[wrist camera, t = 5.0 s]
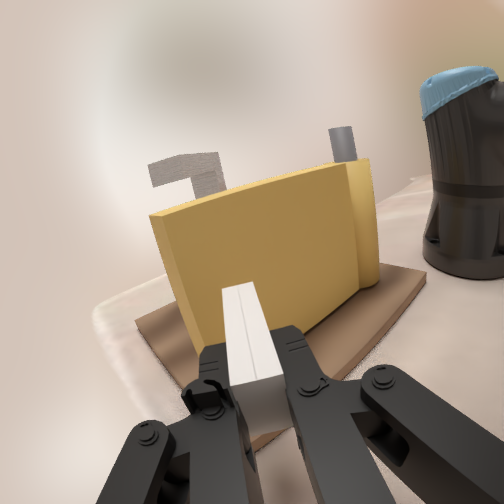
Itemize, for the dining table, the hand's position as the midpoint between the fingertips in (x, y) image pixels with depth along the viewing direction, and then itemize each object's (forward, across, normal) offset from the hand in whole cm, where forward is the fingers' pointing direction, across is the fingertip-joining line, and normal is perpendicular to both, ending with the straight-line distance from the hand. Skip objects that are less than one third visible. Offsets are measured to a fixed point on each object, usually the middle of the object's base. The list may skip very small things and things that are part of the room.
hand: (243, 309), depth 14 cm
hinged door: (+8, +5, -7) cm, 12 cm away
